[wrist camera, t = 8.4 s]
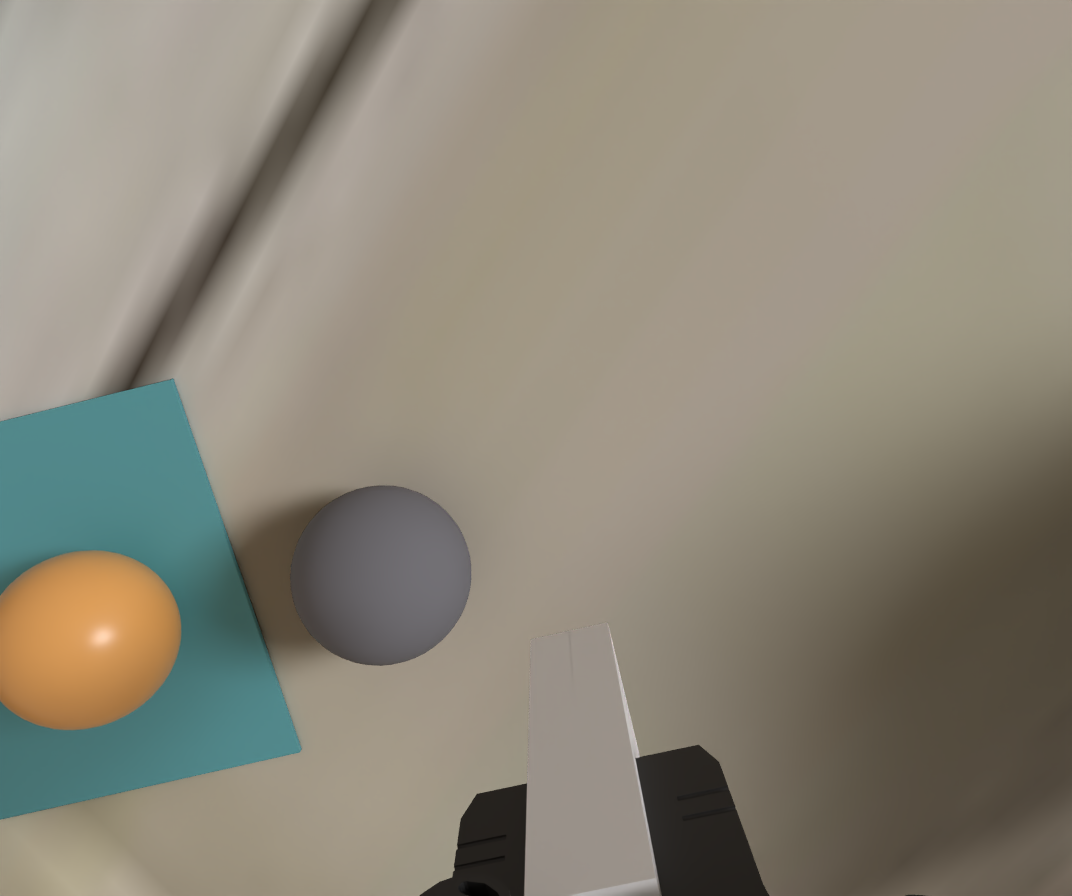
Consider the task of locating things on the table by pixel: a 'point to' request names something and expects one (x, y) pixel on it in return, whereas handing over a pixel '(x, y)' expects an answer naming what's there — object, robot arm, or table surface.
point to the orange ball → (85, 639)
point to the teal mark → (177, 558)
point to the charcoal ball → (380, 575)
